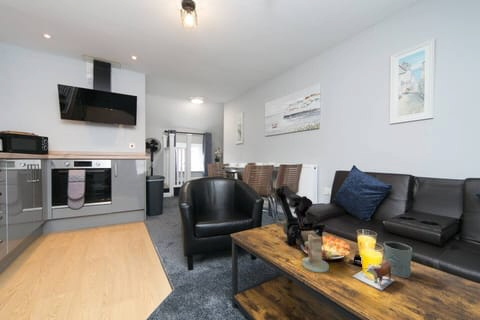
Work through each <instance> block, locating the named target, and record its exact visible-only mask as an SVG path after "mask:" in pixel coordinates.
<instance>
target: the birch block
mask: <svg viewBox="0 0 480 320" xmlns="http://www.w3.org/2000/svg"><path fill="white" fill-rule="evenodd" d="M307 236H308V237H307V239H308V240H307V241H308V243H307V245H308V247H307V248H308V250H307V251H308V255H307V256H308V262H310V263H311V264H312V265H313V266H320V265H322V260H323V253H322V252H323V249H322V248H323V245H322V239H323V236H322V237H320V236H318V235H317V234H316V233H315V234H308V235H307Z"/></svg>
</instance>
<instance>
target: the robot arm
mask: <svg viewBox="0 0 480 320" xmlns="http://www.w3.org/2000/svg"><path fill="white" fill-rule="evenodd" d="M289 187H290V186H287V185H281V186H280V187H278V188H276V189H275V190H274V191H273V195H274V198H275V199H276V200H277V201H278V202H279V204H280V206H281V210H282V212H283V215H284V219H285V223H284V227H283V233H284V234H285V235H286V240H284V243H285V244H286V245H287V246H288V247H292V246H298V245H300V244H301V246H302V247H303V248H306V242H305V240H304V238H303V235H302V232H312V231H313V232H314V233H315V234H317V235H318V236H320V237H322V246H323V245H324V243H323V241H324V240H323V233H324V232H325V230H326V229H327V226H326V225H325V224H324V223H317V222H319V221H320V218H319V216H318V214H314V215H312V216H310V215H308V214H307V213H308V212H309V211H310V210H311V207H312V206H313V204H314V203H313V201H312V200H311V199H310V198H308V197H307V195H303V196H301V195H300V194H299V195H298V194H296V193H294V192H293V190H291V189H290V188H289ZM290 207H291V208H294V211H293V213H292V209H291V208H290ZM293 215H295V216H296V217H294V216H293ZM314 224H316V225H315V226H314ZM297 241H298V242H299V243H300V244H299V243H298V242H297Z"/></svg>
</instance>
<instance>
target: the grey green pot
mask: <svg viewBox="0 0 480 320" xmlns="http://www.w3.org/2000/svg"><path fill="white" fill-rule="evenodd" d="M383 249H384V260H385V262H388V264H390V266H391V276H392V275H393V276H395V277H398V278H401V279H402V278H403V279H407V278H410V277H411V273H412V270H411V265H412V257H413V255H412V254H413V248H412V246H409V245H407V244H404V243H401V242H398V241H397V242H396V241H384V242H383Z"/></svg>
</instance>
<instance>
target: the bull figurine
mask: <svg viewBox="0 0 480 320" xmlns="http://www.w3.org/2000/svg"><path fill="white" fill-rule="evenodd" d="M365 271H366V273H369V274H371V275H372V276H373V278H374V281H373V283H375V284H377V283H378V285H377V286H378V287H379V286H381V287H382V281H383V277H386V276H388V279H387V281H388V282H392V278H391V277H392V274H391V266H390V264H388V262H386V261H385V262H384V261H383V262H381V263H379V264H375V265H373V264H370V263H369V266H368V268H367V269H365Z"/></svg>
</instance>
